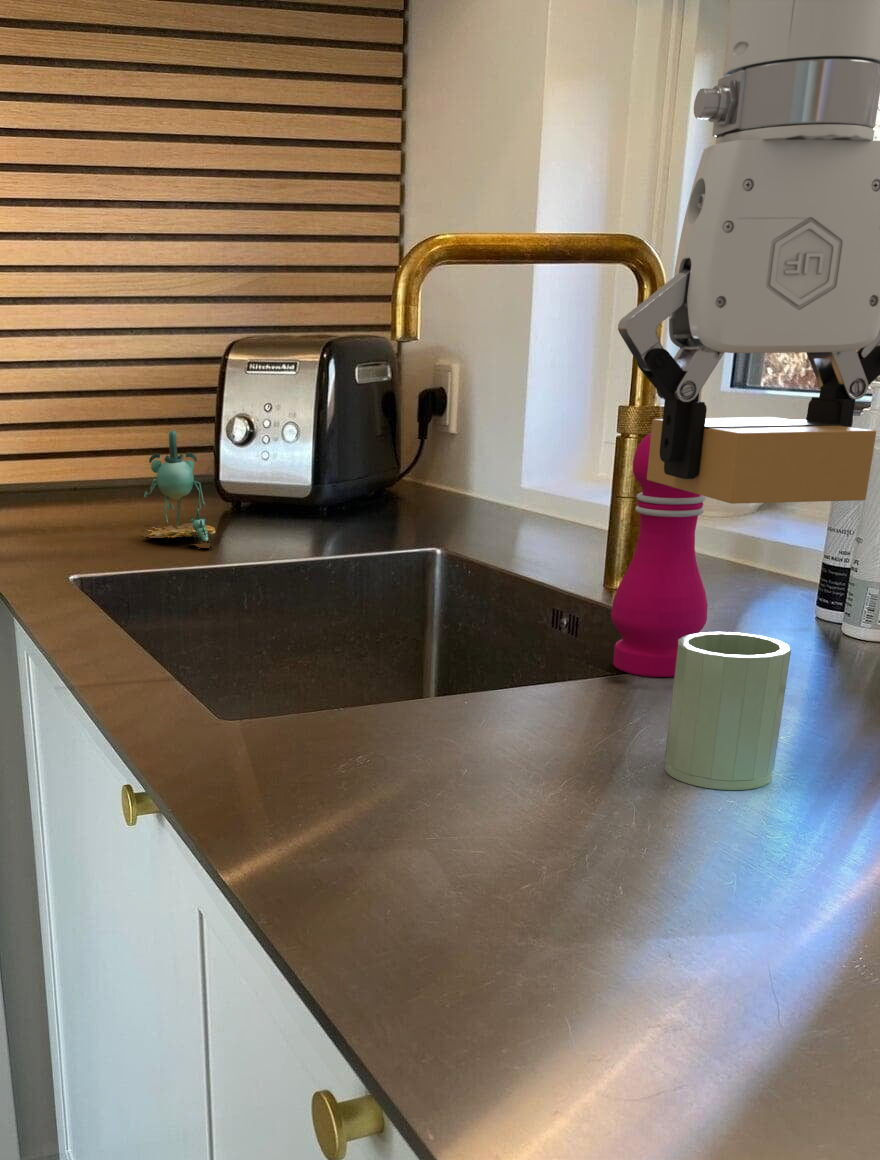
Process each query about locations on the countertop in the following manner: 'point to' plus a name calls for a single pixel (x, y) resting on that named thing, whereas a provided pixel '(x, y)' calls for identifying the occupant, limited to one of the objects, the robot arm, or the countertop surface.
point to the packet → (774, 461)
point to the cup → (726, 709)
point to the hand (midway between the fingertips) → (750, 472)
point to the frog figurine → (177, 491)
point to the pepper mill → (659, 578)
